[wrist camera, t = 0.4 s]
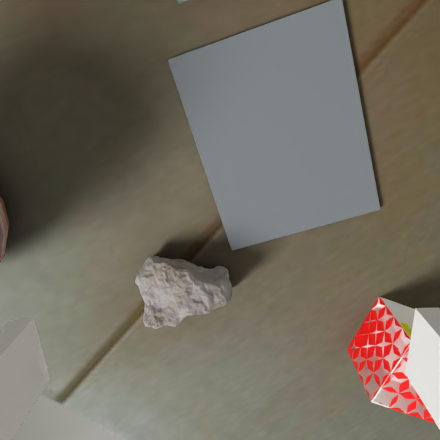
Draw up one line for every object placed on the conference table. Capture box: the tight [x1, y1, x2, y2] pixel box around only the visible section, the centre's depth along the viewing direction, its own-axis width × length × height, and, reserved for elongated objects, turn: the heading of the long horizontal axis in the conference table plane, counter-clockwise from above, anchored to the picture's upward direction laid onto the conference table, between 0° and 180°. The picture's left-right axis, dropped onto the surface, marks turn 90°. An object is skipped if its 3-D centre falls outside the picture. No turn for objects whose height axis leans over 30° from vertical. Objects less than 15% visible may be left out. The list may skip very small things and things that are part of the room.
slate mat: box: [168, 0, 380, 251], centre depth 35 cm, size 20×16×1 cm
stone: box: [135, 256, 232, 329], centre depth 38 cm, size 10×8×6 cm
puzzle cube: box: [347, 296, 435, 423], centre depth 38 cm, size 8×8×8 cm
